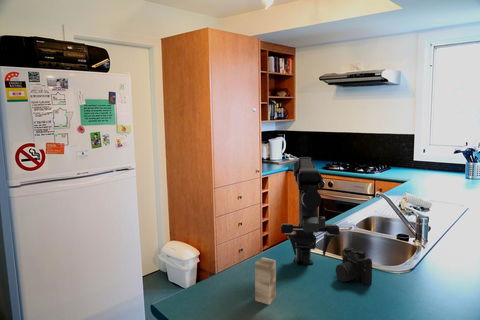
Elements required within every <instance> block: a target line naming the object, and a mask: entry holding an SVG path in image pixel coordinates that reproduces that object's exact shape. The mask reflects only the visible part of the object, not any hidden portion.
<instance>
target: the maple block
mask: <svg viewBox="0 0 480 320" xmlns="http://www.w3.org/2000/svg"><path fill="white" fill-rule="evenodd" d="M276 291H277V260H275V259H271V258H267V257H262V256H261V257H260V259H258V260H257V261H255V262H254V296H255V297H254V301H255V302H259V303H262V304H266V305H271V304H272V303H273V301H274V300H275V299H276V298H277V292H276Z"/></svg>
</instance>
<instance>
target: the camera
mask: <svg viewBox="0 0 480 320" xmlns="http://www.w3.org/2000/svg"><path fill="white" fill-rule="evenodd" d="M341 259H342V262H341V263H339V264H336V267H335V274H336V276H337V279H338V280H339V281H340V282H343V283H344V282H350V281H355V282H358V283H359V282H360V283H362V284H364V285H365V286H370V285H372V282H373V262H372V261H373V260H372V259H371V258H370V257H369V256H368V257H367V256H366V253H365V252H364V251H362V250H355V249H354V248H353V247H344V249H342V257H341Z"/></svg>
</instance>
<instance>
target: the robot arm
mask: <svg viewBox="0 0 480 320" xmlns="http://www.w3.org/2000/svg"><path fill="white" fill-rule="evenodd" d="M292 171H293V172H292V173H293V174H292V175H293V177H294V181H295V183H296V185H297V190H298V223H297V225H294V224H293V223H284V222H283V223H281V225H280V233H281V234H284V237H288V240H289V241H290V243H291V247H292V251H293V254H294V256H296V257H293V260H294V261H295V264H296V265H297V266H299V265H300V266H303V265H314V262H313V260H312V259H311V258H312V256H311V255H312V250H315V249H316V248H317V237H316V235H315V234H314V233H316V234H317V233H323V243H322V256H323V257H325V256H326V252H327V250H328V246H329V244H330V242H331V240H332V239H333V238H336V236H337V235H338V236H339V235H340V233H341V232H340V230H341V229H340V227H339V225H337V224H334V223H333V224H326V217H325V216H319V207H320V206H321V204H322V197H321V194H320V193H319V192H318V191H323V189H324V178H323V175H322V173H320V170H319V169H318V168H316V163H314V161H313V157H310V156H301V157H298V161H295V162H294V163H293V170H292Z"/></svg>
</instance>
